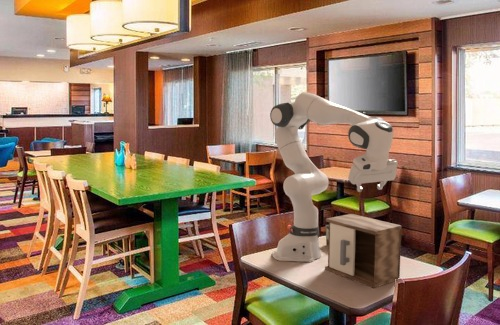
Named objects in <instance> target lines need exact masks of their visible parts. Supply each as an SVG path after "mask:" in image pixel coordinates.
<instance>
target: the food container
mask: <svg viewBox="0 0 500 325" xmlns="http://www.w3.org/2000/svg"><path fill="white" fill-rule="evenodd" d="M325 238H326V239H325V241H326V242H325V243H326V246H327V247H328V241H329V224H325Z"/></svg>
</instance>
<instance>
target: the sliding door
mask: <svg viewBox="0 0 500 325" xmlns="http://www.w3.org/2000/svg"><path fill="white" fill-rule="evenodd" d="M355 230H356V229H352V228H348V227H344V226H341V225H337V224H333V223H330V258H329V267H331V268H333V269H336V270H339V271H341V272H344V273H347V274H349V275H352V276H354V269H355Z"/></svg>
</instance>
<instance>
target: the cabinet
mask: <svg viewBox="0 0 500 325" xmlns="http://www.w3.org/2000/svg"><path fill="white" fill-rule="evenodd" d="M325 222H326V223H328V225H329V241H328V246H327V248H328V251H327V252H328V255H327V265H326V266H324V270H326V271H329V272H331V273H334V274H336V275H338V276H340V277H343V278H347V279H349V280H352V281H354V282H357V283H359V284H363V285H365V286H367V287H369V288H373V289H375V288H377V287H378V288H379V287H381V286H383V285H387V284H389V283H393V282H395V279H398V278H401V277H400V276H401V274H400V273H401V268H400V267H401V250H402V248H401V245H402V225H400V224H396V223H391V222H388V221H383V220H380V219H375V218H372V217H367V216H362V215H358V214H354V213H349V214H343V215H339V216H334V217H333V216H332V217H328V218H325ZM330 223H333V224H337V225H341V226H344V227H348V228H352V229H356V230H355V269H354V276H352V275H349V274H347V273H344V272H341V271H339V270H336V269H333V268H331V267H329V258H330Z"/></svg>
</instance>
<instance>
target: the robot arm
mask: <svg viewBox="0 0 500 325" xmlns="http://www.w3.org/2000/svg"><path fill="white" fill-rule="evenodd" d="M269 114H270V115H269V117H270V121H271V123H272V124H273V125H274V126H275V127H277V128H276V129H274V130H275V131H274V138H275V141H276V142H275V143H276V146H277V148H278V151H279V154H280V156H281V158H282V160H283V163H284V165H285V166H286V168H288V169H289V170H291V171H292V172H293V173H294V174H292V175H289V176H288V177H286V178H285V179H284V181H283V186H282V188H283V192H284V193H285V195H286V196H287V197H288V198H289V200H290V201H291V204H292V207H293V225H292V224H288V225H287V230H289V233H288V234H286V235H285V236H284V237H283V238H281V239H279V241H278V244H277V248H276V249H274V250H273V251H272V254H271V255H272V257H273V259H275V260H276V261H280V262H307V263H308V262H309V263H310V262H311V263H312V262H313V261H314V260H317V259H319V258H321V257H322V254H321V250H320V245H319V236H320V227H319V209H318V207H317V206H315V205H314V202H313V199H312V198H313V196H315V195H319V194H321V193H322V192H325V191H326V190H327V189H328V187H329V182H330V181H329V177H328V176H327V174H326V173H324V172H323V171H322V170H320V169H319V168H318V167H317V166H316V165H315V164H314V163H313V162H312V160H311V159H310V158H309V155H308V153H307V152H306V149H305V146H304V145H303V143H302V140H301V138H300V136H299V133H298V130H303V129H304V128H305V127H306V126H307V124H309V123H310V122H313V123H314V124H317V125H321V126H328V125H335V124H346V125H347V124H348V125H350V127H349V129H348V132H347V136H348V140H349V142H350V144H351V145H352V146H354V147H355V148H358V149H362V150H366V152H365V153H363V154H362V155H359V156H357V157H354V158H353V161H352V163H353V164H352V165H351V167H350V168H349V169H350V170H349V174H348V181H349V182H350V184H352V185H356V191H357V193H361V192H363V188H364V187H362V184H369V183H370V184H371V183H378V182H379V184H377V186H376V188H377V190H379V191H380V190H383V187H384V186H385V185H386V184H387V182H388V181H389V182H390V181H394V180H395V179H396V177H397V170H398V169H397V168H398V164H399V162H398V160H397V159H395V158H392V159H389V157H390V150H391V148H392V145H393V140H394V128H393V126H392V125H391V124H390V123H388V122H386V121H385V119H383V118H382V117H380V116H369V115H366V114H364V113H362V112H359V111H357V110H354V109H351V108H349V107H346V106H344V105H343V106H342V105H341V104H337V103H335V102H332V101H330V100H328V99H326V98H324V97H321V96H319V95H317V94H314V93H312V92H307V91H303V92H301V93H299V94H298V95H297V96H296V98H295V100H294V102H284V103H279V104H276V105H274V106H273V107H272V108H271V110H270V113H269Z"/></svg>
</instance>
